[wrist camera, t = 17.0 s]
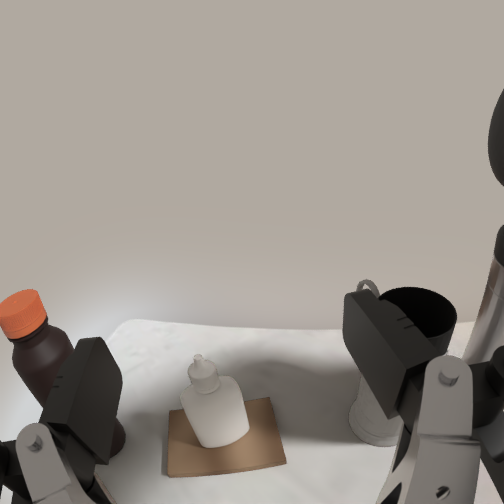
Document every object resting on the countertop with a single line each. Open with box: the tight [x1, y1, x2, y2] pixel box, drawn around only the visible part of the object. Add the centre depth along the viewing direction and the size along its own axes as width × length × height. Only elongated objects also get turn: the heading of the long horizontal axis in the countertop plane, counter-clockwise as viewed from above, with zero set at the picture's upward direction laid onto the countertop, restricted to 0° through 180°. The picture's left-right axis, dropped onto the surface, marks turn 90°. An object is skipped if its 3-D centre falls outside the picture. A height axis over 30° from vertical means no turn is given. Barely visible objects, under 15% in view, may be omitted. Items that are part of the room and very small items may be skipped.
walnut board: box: [167, 397, 287, 478], centre depth 27 cm, size 12×9×1 cm
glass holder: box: [349, 280, 457, 447], centre depth 27 cm, size 9×14×15 cm, turn 12°
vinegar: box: [0, 289, 125, 458], centre depth 23 cm, size 7×7×20 cm
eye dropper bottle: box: [180, 354, 250, 448], centre depth 25 cm, size 4×6×12 cm
